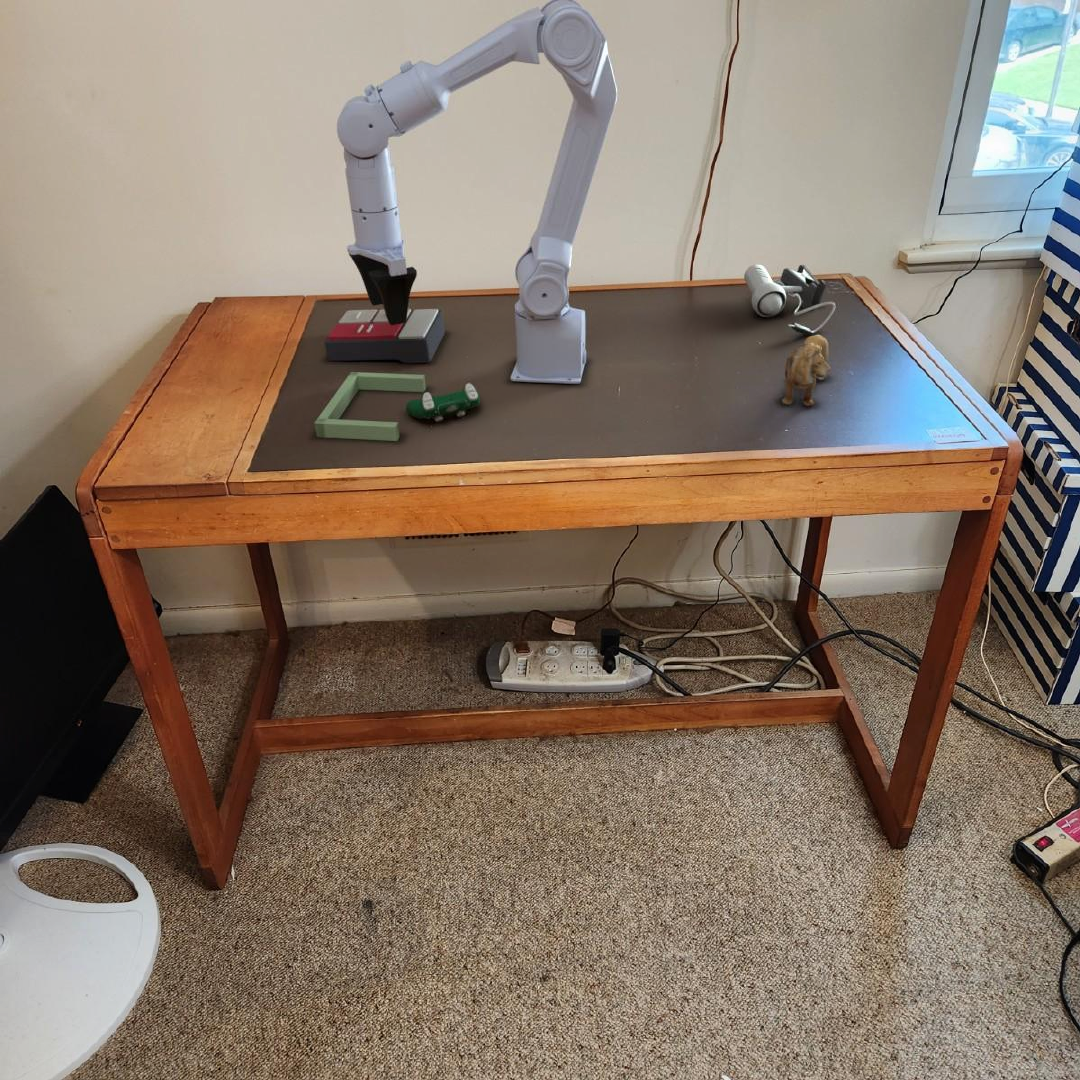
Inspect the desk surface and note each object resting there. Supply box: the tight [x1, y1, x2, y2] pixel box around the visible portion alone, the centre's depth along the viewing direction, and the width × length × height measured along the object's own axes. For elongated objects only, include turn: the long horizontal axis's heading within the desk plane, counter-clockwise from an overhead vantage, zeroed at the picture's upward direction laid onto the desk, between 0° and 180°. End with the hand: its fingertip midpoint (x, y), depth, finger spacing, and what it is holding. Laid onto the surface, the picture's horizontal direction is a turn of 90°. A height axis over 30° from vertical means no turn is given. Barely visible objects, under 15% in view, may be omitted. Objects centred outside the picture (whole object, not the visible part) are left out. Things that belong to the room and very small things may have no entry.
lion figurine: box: [781, 334, 832, 407], centre depth 114 cm, size 15×5×9 cm, turn 163°
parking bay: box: [314, 371, 427, 442], centre depth 115 cm, size 10×14×2 cm
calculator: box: [324, 308, 446, 364], centre depth 131 cm, size 11×4×15 cm
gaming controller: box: [405, 382, 481, 423], centre depth 113 cm, size 9×4×6 cm
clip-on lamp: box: [743, 263, 837, 337], centre depth 136 cm, size 12×6×18 cm
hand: (388, 313), depth 117 cm, fingers open, 7 cm apart
